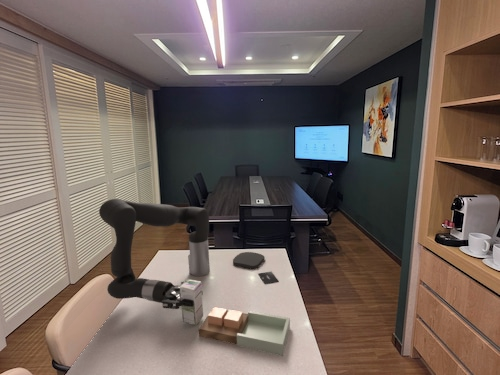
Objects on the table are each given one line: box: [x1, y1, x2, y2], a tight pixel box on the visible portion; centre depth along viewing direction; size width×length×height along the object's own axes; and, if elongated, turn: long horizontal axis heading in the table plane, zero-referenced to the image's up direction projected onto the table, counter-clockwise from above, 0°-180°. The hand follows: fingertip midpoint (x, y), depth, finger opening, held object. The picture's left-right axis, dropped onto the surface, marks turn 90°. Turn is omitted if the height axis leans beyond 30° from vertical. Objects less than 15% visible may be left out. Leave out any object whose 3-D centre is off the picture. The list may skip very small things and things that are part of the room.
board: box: [198, 309, 248, 346], centre depth 99 cm, size 14×12×3 cm
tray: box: [236, 310, 291, 357], centre depth 95 cm, size 15×13×4 cm
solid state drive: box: [258, 271, 280, 285], centre depth 134 cm, size 7×10×1 cm
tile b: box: [224, 309, 243, 329], centre depth 98 cm, size 5×5×3 cm
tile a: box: [207, 306, 228, 326], centre depth 100 cm, size 5×5×3 cm
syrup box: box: [179, 278, 204, 326], centre depth 102 cm, size 6×6×14 cm
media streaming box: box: [232, 251, 266, 270], centre depth 150 cm, size 15×15×3 cm
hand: (197, 298), depth 101 cm, fingers closed on syrup box, 6 cm apart
